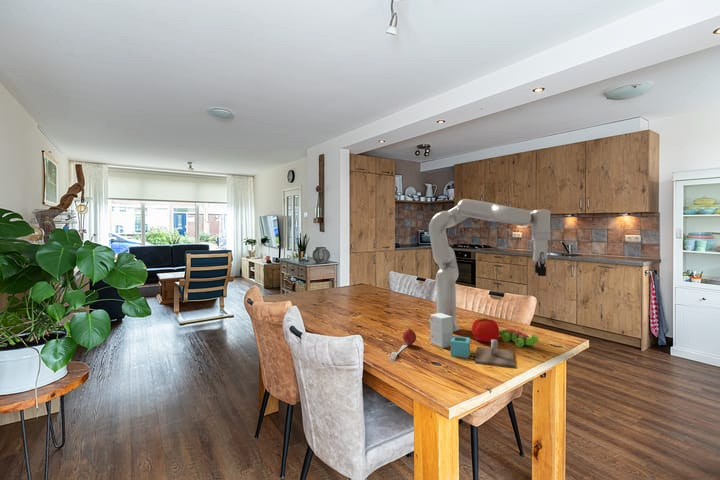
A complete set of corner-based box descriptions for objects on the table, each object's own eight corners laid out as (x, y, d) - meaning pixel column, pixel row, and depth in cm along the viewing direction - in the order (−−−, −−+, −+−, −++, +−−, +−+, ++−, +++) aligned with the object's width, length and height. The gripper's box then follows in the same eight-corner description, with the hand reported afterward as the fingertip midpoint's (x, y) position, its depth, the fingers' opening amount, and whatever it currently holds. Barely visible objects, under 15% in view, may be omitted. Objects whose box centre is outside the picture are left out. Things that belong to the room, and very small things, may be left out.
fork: (409, 351, 153) (409, 345, 153) (394, 363, 134) (394, 356, 134) (403, 350, 154) (403, 344, 154) (387, 362, 135) (387, 355, 136)
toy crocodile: (494, 337, 162) (493, 324, 162) (504, 335, 165) (504, 323, 164) (529, 351, 144) (529, 337, 144) (540, 348, 146) (540, 334, 146)
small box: (453, 345, 151) (453, 316, 151) (441, 348, 149) (441, 318, 148) (441, 340, 159) (441, 312, 158) (430, 342, 156) (429, 314, 155)
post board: (474, 362, 132) (474, 345, 132) (476, 348, 147) (476, 332, 147) (514, 367, 127) (514, 349, 127) (512, 352, 142) (512, 336, 142)
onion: (401, 343, 155) (401, 325, 155) (414, 343, 156) (414, 325, 155) (404, 348, 150) (404, 329, 149) (417, 347, 150) (417, 329, 150)
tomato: (496, 337, 162) (496, 315, 161) (501, 345, 150) (501, 322, 150) (470, 336, 164) (470, 314, 164) (472, 344, 153) (472, 321, 152)
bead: (450, 355, 140) (450, 341, 140) (452, 349, 146) (452, 335, 146) (468, 357, 137) (468, 343, 137) (470, 351, 144) (469, 337, 144)
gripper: (529, 236, 166) (529, 271, 167) (533, 237, 150) (533, 276, 150) (547, 236, 163) (546, 272, 164) (553, 237, 147) (552, 277, 148)
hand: (540, 274), depth 157 cm, fingers open, 9 cm apart
